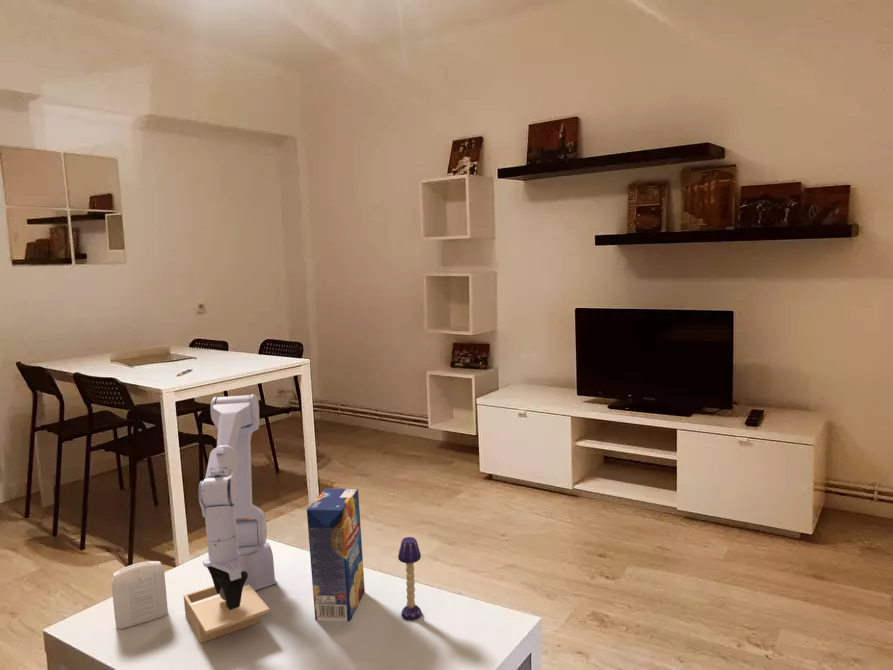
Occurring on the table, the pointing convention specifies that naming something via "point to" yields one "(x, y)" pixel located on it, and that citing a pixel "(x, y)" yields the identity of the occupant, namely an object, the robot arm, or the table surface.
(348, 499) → the juice carton
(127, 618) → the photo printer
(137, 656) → the table surface
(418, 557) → the toy lamp
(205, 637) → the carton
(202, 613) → the lid
